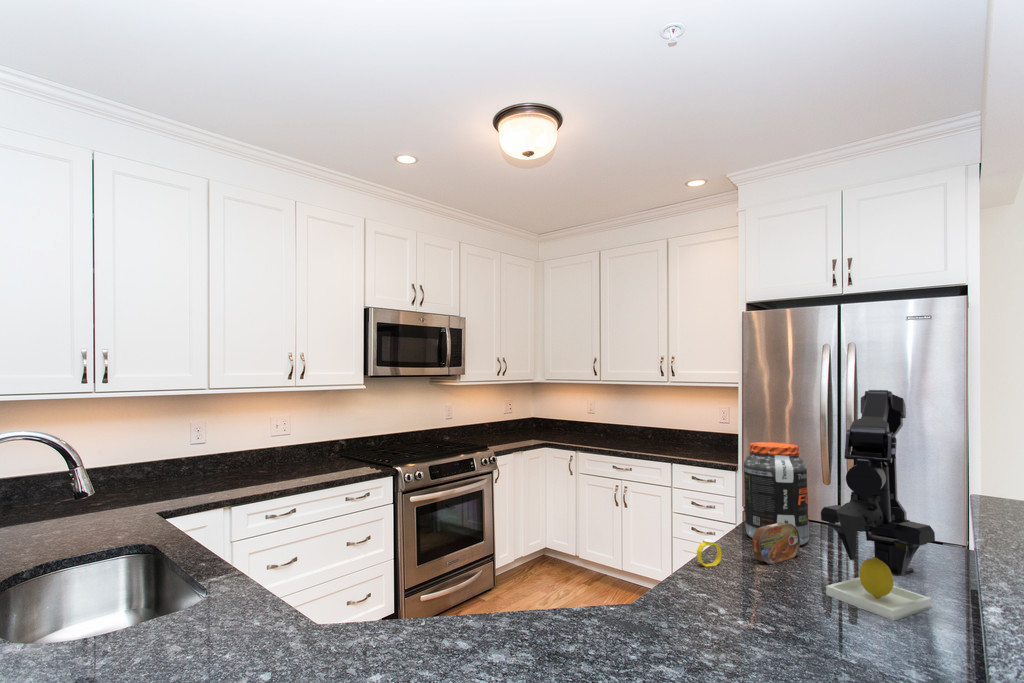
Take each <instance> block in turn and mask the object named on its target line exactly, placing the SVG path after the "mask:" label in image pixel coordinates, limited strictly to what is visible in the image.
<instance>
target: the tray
mask: <svg viewBox="0 0 1024 683" xmlns="http://www.w3.org/2000/svg"><path fill="white" fill-rule="evenodd" d="M825 590H826V592H825V593H826V594H825V595H826V596H828V597H831V598H833V599H836V600H839V601H842V602H844V603H846V604H849V605H852V606H854V607H856V608H859V609H862V610H865V611H867V612H870V613H872V614H873V615H874V614H875V615H877V616H879V617H883V618H884V619H888V620H890V621H892V622H894V621H897V620H900V619H904V618H906V617H910V616H912V615H915V614H918V613H921V612H924V611H926V610H930V609H932V608H933V606H932V605H933V603H932V598H931V597H929V596H925V595H923V594H920V593H916V592H913V591H912V590H911V591H910V590H908V589H905V588H902V587H898V586H895V585H893V588H892V590H891V592H890V593H889V594H888V595H886V596H882V597H880V598H879V599H877V598H875V597H874V596H873V595H872V594H870V593H869V592H867V591H866V590H865V589H864V587H863V586H862V584H861V581H860V576H859V577H858V576H857V577H854V578H851V579H846V580H843V581H839V582H835V583H832V584H828V585H826V586H825Z"/></svg>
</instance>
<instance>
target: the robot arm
mask: <svg viewBox="0 0 1024 683" xmlns="http://www.w3.org/2000/svg"><path fill="white" fill-rule="evenodd" d="M906 410H907V408H906V402H905V399H904V398H903V397H901V396H898V395H896V394H893V392H892V391H890V390H888V389H868V390H865V391H864V395H863V396H861V397H860V414H861V417H860V418H858V419H855V420H853V421H852V422H851V424H850V428H849V429H847V430H846V433H845V445H844V446H845V447H844V455H843V456H844V460H853V465H852V467H851V468H850V469H848V471H847V472H846V475H845V481H846V484H847V487H849V489H850V490H851V493H850V499H849V502H846V503H844V504H843V505H838V504H834V505H827V506H824V507H823V508H822V509H821V511H820V521H822V522H826V524H827V526H828V527H830V528H832V529H833V530H834V531H836V533H837V534H838V537H839V538H840V540H841V542H842V544H843V547H844V549H845V552H846V554H847V557H848V558H849V560H850V561H854V560H856V554H857V535H858V534H857V532H859V533H860V532H862V533H863V532H865V537H866V541H870V542H873V545H874V549H873V553H874V556H873V557H876V558H878V559H879V560H881V561H883V562H884V563H885V564H886V565H887V566H888V567H889V569H890V571H891V573H892V575H895V576H900V577H901V576H905V574H909V573H912V572H914V568H912V567H909V565H910V563H911V561H912V559H913V557H914V556H915V553H916V552H917V551H918V549H919V548H920V547H921V546H924V545H927V544H929V543H932V542H936V534H935V533H936V532H935V531H934V529H933V528H932V527H931V526H930V525H928V524H924V523H919V522H915V521H911V520H910V519H907V518H908V517H907V511H906V510H905V508H904V507H903V505H902V503H901V502H900V500H898V475H897V472H898V471H897V438H896V436H897V434H898V433H899V431H900V430H901V429H902V428H903V425H904V419H907V411H906Z"/></svg>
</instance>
